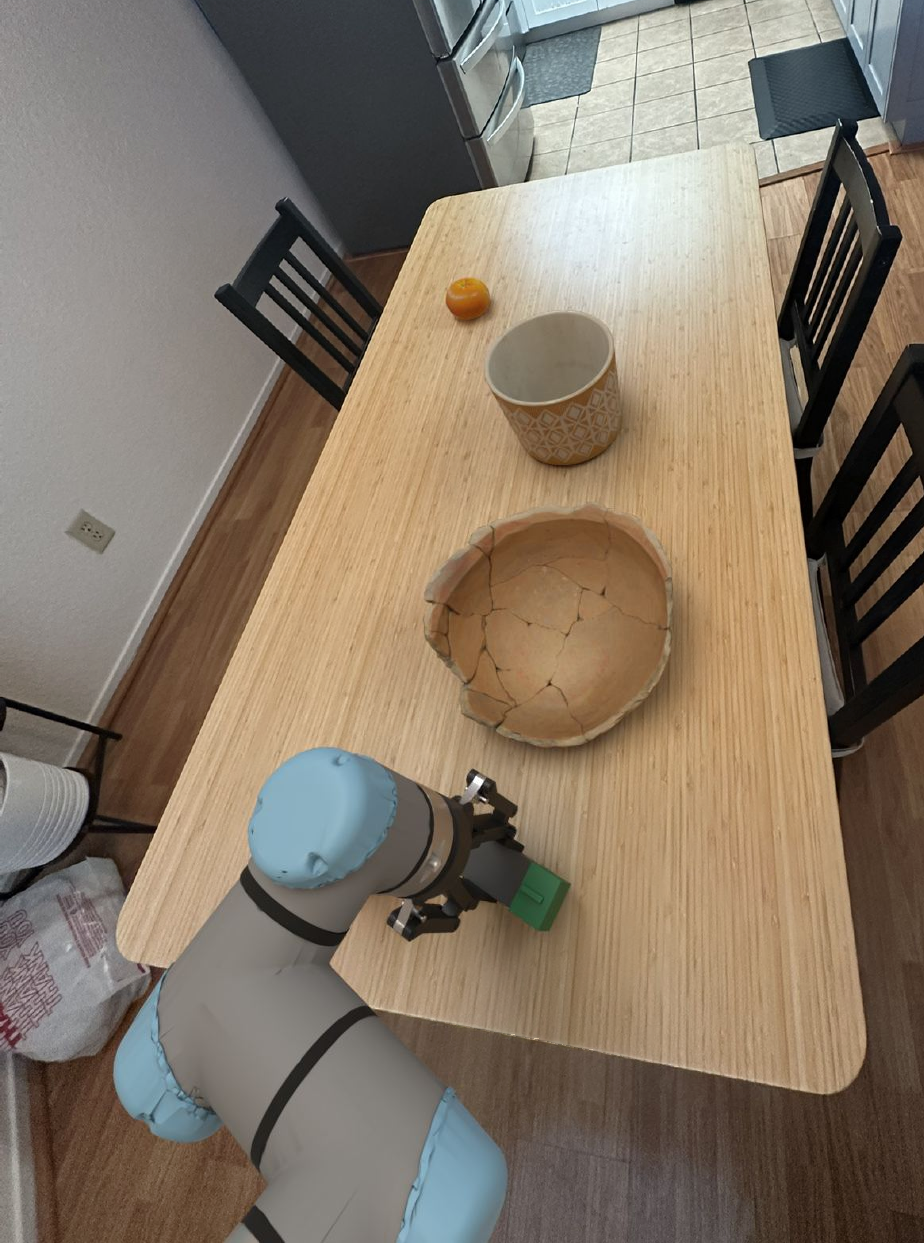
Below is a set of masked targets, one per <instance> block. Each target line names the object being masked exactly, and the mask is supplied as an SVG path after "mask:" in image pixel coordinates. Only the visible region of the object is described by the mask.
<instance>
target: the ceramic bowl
mask: <svg viewBox="0 0 924 1243" xmlns="http://www.w3.org/2000/svg"><path fill="white" fill-rule="evenodd" d="M467 544H468V545H467V546H466V547H462V548H460V549H458V550H456V551H455V552H454V553H453V554H452V555H451V556H450V557H449V558H448V559H447V560H446V561H445V562H443V563H442V564H441V565H440V566H439V567H438V568H436V569H435V570H434V571H433V572H432V574H431V576H430V579H429V580H428V583H427V585H426V586H425V590H424V594H423V595H424V596H423V597H424V601H425V602H426V603H429V604H431V606H430V607H429V608H427V611H426V612H425V614H424V615H423V619H422V622H423V635H424V639H425V641H426V642H427V643H428V644H429V646H430V647H431V649H432V650H434V652H435V654H436V658H437V659H440V660H441V661H442V663H443V664H444V665H445V666H446V668H448V669H450V670H451V672H452V674H454V675H455V676H457V677H458V679H459V680H460V681H461V682H462V683H463V684H462V685H461V687H460V693H459V700H458V701H459V705H460V714H461V715H462V716H463V717H465V718H466V719H470V720H472V721H474V722H475V723H477V724H479V725H481V726H483V727H487V728H491V729H494V730H495V732H496V733H497V734H499V735H501V736H503V737H505V738H507V739H510V740H512V741H516V742H521V743H524V744H527V745H533V746H537V747H540V748H546V749H551V748H555V747H556V748H562V749H566V748H570V747H576V746H581V745H583V744H586V743H588V742H590V741H592V740H594V739H596V738H597V737H599V736H601V735H604V734H605V733H607V732H608V731H610V730H611V729H612V728H613V727H614V726H615V725H617V724H618V723H619V722H620V721H621V719H622V718H624V717H625V716H626V715H627V714H629V713H631V712H633V711H634V710H635V709H636V708H638V707H639V706H640V705H641V704H643V702H644V701H645V700H646V699H647V698H648V697H650V695H651V694H652V692H653V691H654V689H655V687H656V685H657V684H658V683H659V682H660V680H661V679H662V676H663V674H664V672H665V670H666V667H667V665H668V662H669V660H670V657H671V651H672V643H673V632H674V623H675V599H674V585H673V577H672V576H673V567H672V565H671V563H670V560H669V559H668V556H667V554H666V552H665V550H664V547H663V545H662V543H661V542H660V540H659V538H658V537H657V535H656V533H655V532H653V531H652V530H651V529H650V528H649V527H648V526H647V525H646V524H645V522H644V521H643V519H641V518H640V517H638V516H636V515H632V514H629V513H627V512H622V511H619V510H616V509H613V508H610V507H607V506H606V505H605V504H603V503H601V502H597V501H588V502H586V503H583V504H582V505H577V506H562V505H558V504H556V503H551V504H549V503H547V504H542V505H537V506H534V507H532V508H529V509H527V510H523V511H520V512H516V513H514V514H510V515H509V516H507V517H504V518H499V519H496V520H494V521H492V522H490V524H486V525H483V526H478V528H477V529H476V530H474V532H473V533H471V535H470V538H469V540H468V542H467Z"/></svg>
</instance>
